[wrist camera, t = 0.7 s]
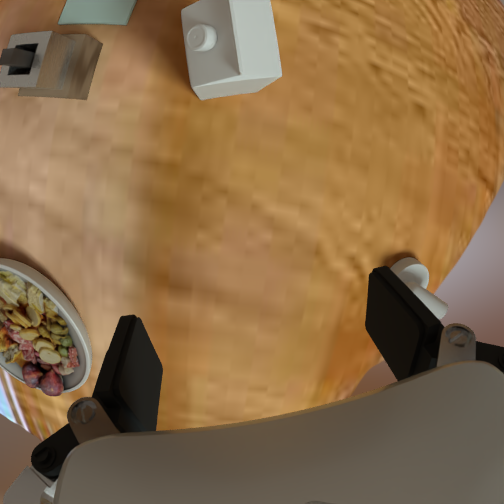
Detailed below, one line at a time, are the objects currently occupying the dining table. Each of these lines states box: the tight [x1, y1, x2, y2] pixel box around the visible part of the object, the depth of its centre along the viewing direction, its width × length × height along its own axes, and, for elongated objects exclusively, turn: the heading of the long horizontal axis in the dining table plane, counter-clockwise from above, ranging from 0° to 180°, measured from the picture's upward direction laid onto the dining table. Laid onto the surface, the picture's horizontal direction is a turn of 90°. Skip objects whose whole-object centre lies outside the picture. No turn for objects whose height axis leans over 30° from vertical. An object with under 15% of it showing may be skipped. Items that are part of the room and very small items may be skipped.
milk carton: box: [181, 0, 282, 100], centre depth 23 cm, size 7×7×19 cm
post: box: [0, 34, 103, 100], centre depth 22 cm, size 8×8×15 cm
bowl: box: [0, 258, 92, 396], centre depth 40 cm, size 30×30×8 cm
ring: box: [0, 31, 76, 90], centre depth 20 cm, size 6×6×6 cm
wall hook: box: [390, 257, 448, 319], centre depth 45 cm, size 9×10×10 cm
